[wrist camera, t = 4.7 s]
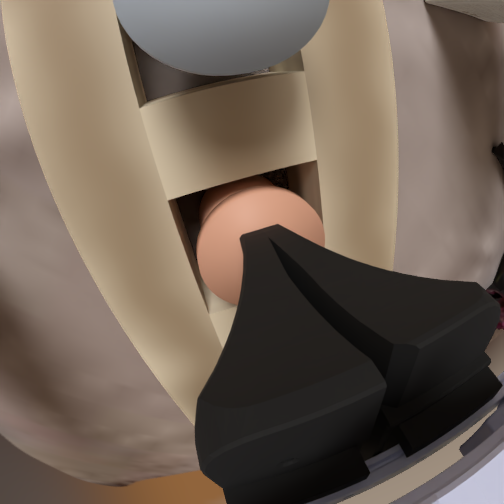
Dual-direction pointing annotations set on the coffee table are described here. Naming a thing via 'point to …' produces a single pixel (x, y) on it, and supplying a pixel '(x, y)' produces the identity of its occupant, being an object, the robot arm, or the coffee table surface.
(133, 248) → the button board
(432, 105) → the coffee table surface
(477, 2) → the small box
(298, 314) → the robot arm
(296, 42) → the knob
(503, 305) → the flower arrangement
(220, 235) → the plunger terracotta
